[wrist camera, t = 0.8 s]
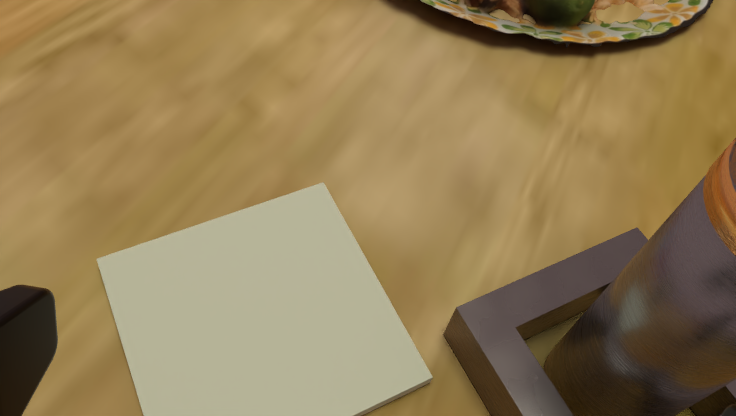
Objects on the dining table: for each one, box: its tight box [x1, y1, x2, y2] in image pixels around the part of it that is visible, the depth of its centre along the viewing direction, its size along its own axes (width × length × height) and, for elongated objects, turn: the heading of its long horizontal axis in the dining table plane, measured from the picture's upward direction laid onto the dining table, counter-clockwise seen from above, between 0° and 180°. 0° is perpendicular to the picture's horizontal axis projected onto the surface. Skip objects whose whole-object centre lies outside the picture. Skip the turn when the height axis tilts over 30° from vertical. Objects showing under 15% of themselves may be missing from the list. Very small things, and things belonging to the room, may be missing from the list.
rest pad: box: [97, 183, 433, 416], centre depth 25 cm, size 10×10×1 cm
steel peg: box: [543, 138, 736, 416], centre depth 19 cm, size 4×4×13 cm
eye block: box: [443, 228, 736, 416], centre depth 23 cm, size 9×9×2 cm
